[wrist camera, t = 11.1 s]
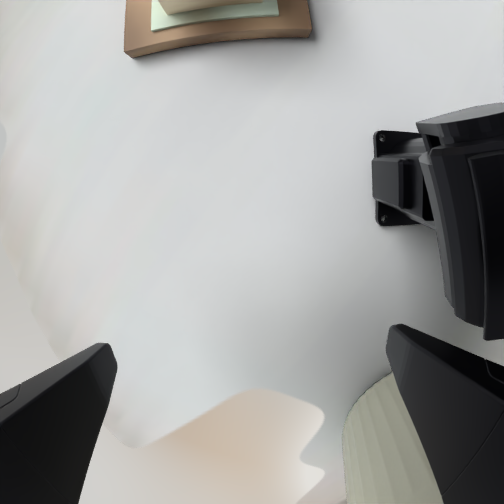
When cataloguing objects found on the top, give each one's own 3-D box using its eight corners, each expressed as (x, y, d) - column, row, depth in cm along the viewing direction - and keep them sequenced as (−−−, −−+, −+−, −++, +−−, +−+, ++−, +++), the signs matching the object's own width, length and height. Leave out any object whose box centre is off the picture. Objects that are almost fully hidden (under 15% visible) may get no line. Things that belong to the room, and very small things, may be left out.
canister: (464, 295, 21) (616, 447, 1) (468, 402, 26) (539, 517, 6) (286, 389, 24) (313, 627, 4) (343, 468, 29) (372, 605, 9)
